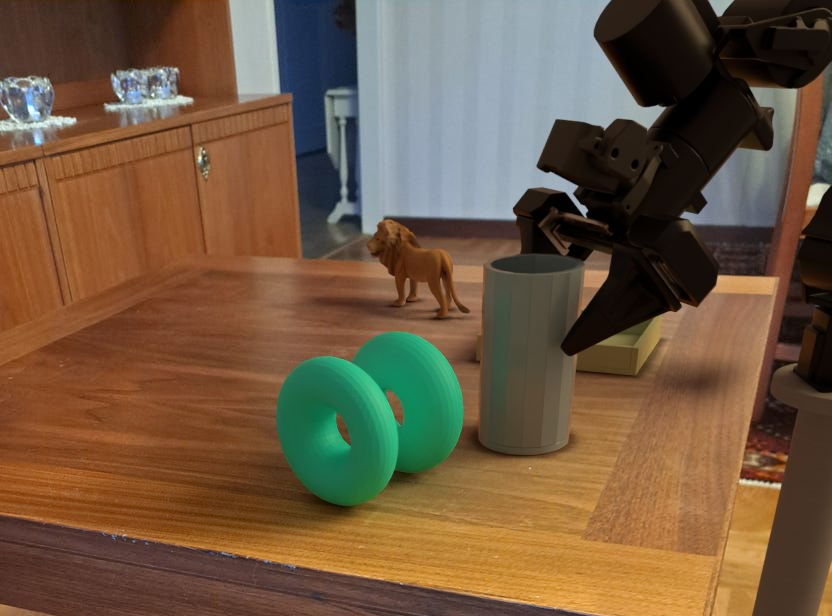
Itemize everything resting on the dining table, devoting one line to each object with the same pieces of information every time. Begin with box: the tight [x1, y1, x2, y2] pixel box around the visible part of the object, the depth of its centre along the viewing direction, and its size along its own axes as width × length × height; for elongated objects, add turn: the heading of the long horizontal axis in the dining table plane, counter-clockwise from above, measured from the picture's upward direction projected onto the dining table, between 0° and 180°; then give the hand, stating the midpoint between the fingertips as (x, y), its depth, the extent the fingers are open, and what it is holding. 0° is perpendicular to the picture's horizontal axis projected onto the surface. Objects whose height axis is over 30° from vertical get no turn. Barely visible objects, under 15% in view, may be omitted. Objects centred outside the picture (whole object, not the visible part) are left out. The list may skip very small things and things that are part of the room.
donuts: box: [275, 330, 465, 507], centre depth 65 cm, size 10×10×10 cm
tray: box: [475, 308, 664, 377], centre depth 92 cm, size 15×12×2 cm
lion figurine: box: [365, 219, 471, 319], centre depth 107 cm, size 15×5×9 cm, turn 43°
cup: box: [477, 253, 586, 456], centre depth 70 cm, size 7×7×13 cm
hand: (530, 336), depth 70 cm, fingers open, 9 cm apart
